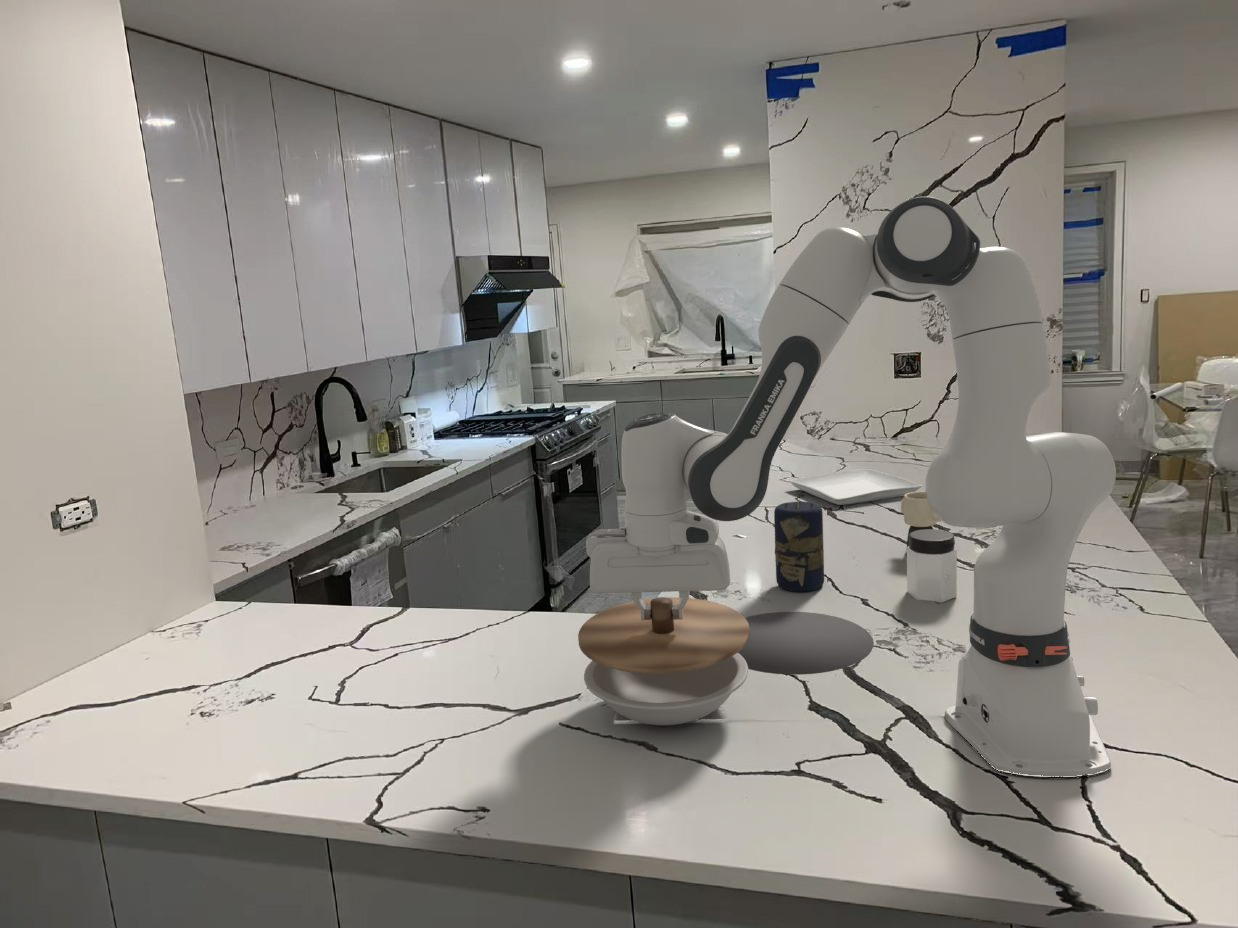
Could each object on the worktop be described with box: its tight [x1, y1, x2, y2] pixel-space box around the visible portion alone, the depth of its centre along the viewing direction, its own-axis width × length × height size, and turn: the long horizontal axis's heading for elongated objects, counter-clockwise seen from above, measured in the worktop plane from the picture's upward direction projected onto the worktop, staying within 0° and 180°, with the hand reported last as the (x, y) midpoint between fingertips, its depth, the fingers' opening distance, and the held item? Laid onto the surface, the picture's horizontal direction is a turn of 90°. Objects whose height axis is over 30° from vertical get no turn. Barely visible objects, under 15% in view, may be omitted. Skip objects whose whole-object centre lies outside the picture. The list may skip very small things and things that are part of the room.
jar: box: [906, 528, 958, 604], centre depth 168 cm, size 9×8×12 cm
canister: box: [773, 500, 825, 593], centre depth 177 cm, size 10×10×18 cm
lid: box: [577, 596, 750, 674], centre depth 129 cm, size 25×25×5 cm
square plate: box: [788, 468, 923, 506], centre depth 252 cm, size 27×27×4 cm
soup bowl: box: [583, 653, 749, 726], centre depth 130 cm, size 24×24×7 cm
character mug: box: [900, 491, 942, 551], centre depth 193 cm, size 11×7×13 cm, turn 30°
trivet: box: [738, 611, 874, 675], centre depth 152 cm, size 27×27×1 cm
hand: (662, 618), depth 129 cm, fingers closed on lid, 3 cm apart
